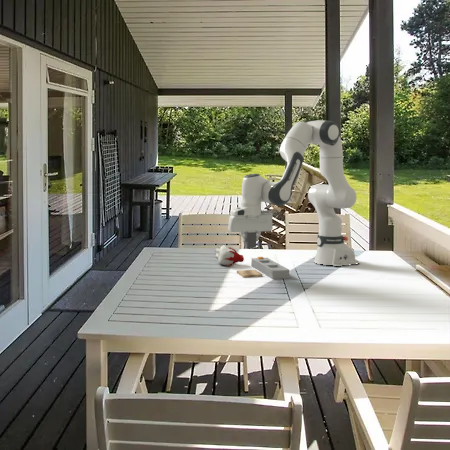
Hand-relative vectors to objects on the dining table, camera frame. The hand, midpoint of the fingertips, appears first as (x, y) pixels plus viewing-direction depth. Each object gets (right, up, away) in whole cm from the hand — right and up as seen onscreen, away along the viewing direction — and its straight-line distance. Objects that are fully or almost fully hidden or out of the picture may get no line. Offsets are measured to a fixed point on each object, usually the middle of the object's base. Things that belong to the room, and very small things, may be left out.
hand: (250, 241), depth 242 cm
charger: (0, -3, 0) cm, 3 cm away
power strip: (+8, -14, +11) cm, 20 cm away
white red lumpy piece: (-9, -12, +21) cm, 26 cm away
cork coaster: (0, -15, +2) cm, 15 cm away
